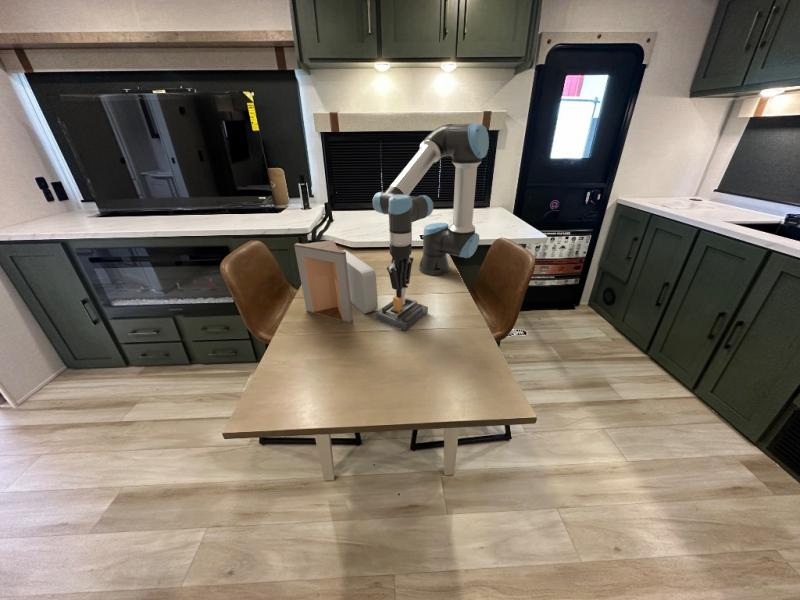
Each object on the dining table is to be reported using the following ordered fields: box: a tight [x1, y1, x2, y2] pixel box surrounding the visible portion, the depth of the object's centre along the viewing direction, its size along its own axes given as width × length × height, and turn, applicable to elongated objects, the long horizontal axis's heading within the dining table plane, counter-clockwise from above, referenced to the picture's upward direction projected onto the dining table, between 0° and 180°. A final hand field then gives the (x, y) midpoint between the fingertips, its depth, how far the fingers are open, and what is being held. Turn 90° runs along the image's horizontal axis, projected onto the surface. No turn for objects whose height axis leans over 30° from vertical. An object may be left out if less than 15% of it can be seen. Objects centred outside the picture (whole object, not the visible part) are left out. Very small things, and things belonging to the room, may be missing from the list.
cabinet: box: [294, 239, 354, 324], centre depth 118 cm, size 21×10×28 cm, turn 65°
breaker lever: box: [392, 295, 403, 314], centre depth 116 cm, size 3×3×6 cm
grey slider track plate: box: [381, 301, 423, 321], centre depth 119 cm, size 11×12×1 cm
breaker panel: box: [374, 297, 429, 332], centre depth 120 cm, size 15×14×4 cm
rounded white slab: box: [342, 249, 378, 314], centre depth 129 cm, size 29×8×18 cm, turn 34°
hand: (400, 303), depth 117 cm, fingers closed
